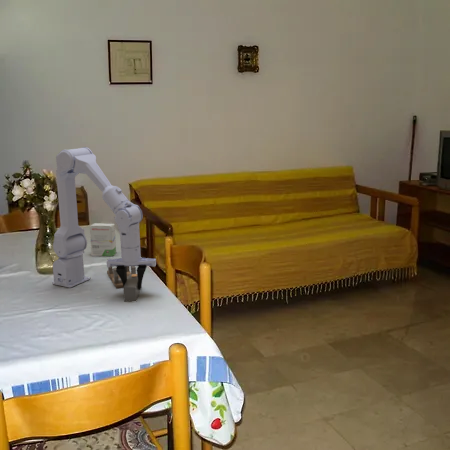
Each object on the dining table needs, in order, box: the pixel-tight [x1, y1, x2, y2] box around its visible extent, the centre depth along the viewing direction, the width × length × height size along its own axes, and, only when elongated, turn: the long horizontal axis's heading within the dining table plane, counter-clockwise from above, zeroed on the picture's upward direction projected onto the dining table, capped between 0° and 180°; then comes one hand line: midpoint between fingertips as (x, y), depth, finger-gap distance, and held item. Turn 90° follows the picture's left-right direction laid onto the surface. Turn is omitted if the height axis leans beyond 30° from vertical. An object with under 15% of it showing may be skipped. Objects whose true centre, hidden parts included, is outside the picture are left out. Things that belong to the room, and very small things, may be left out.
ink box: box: [89, 222, 117, 257], centre depth 203 cm, size 9×5×12 cm, turn 84°
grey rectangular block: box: [122, 273, 142, 303], centre depth 163 cm, size 12×4×5 cm, turn 1°
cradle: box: [106, 266, 137, 289], centre depth 176 cm, size 16×7×6 cm, turn 22°
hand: (133, 288), depth 163 cm, fingers closed on grey rectangular block, 3 cm apart
